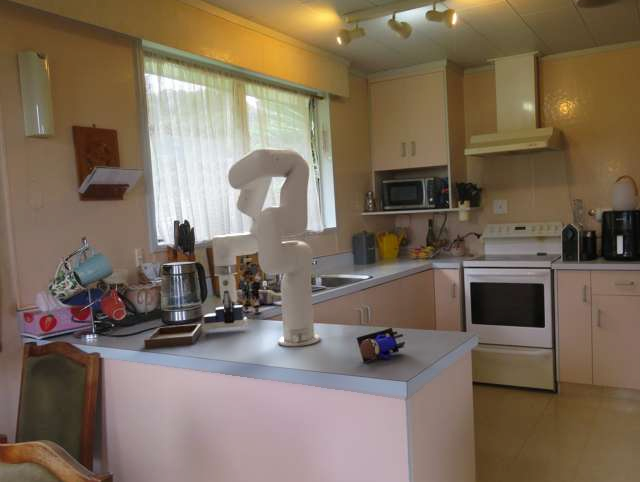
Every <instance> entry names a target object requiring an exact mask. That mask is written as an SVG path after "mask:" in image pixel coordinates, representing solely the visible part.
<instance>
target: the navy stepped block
mask: <svg viewBox="0 0 640 482" xmlns="http://www.w3.org/2000/svg"><path fill="white" fill-rule="evenodd" d="M232 311H233V313H234V323H227V324H225V321H224V306H217V307H215V309H214V312H213V313H206V314H205V315H204V316H203V326H204V330H216V329H222V328H223V329H224V328H225V329H226V328H234V327H235V328H236V327H243V326H247V324H248V317H247V316H245V313H244V312H243V311H244V307H243V304H238V305H234V306H232Z"/></svg>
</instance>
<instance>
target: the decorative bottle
mask: <svg viewBox="0 0 640 482" xmlns="http://www.w3.org/2000/svg"><path fill="white" fill-rule="evenodd" d="M250 291H251V290H250ZM258 291H259V299H258V301H259V302H260V305H266V306H269V305H273V304H274V303H278V302H281V293H278V292H277V293H276V292H275V291H274V290H272V289H271V290H269V289H259V290H258ZM244 293H245V292H244ZM252 294H253V293H252ZM237 297H238V299H237V301H236V302H235V303H237V304H238V305H243V302H242V301H243V300H245V298H243V295H242V290H240V289H237ZM248 297H249V296H248ZM248 300H249V301H250V305H251V302H254V301H255V300H253V299H252V298H251V296H250V298H249V299H248ZM246 304H249V303H246Z"/></svg>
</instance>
